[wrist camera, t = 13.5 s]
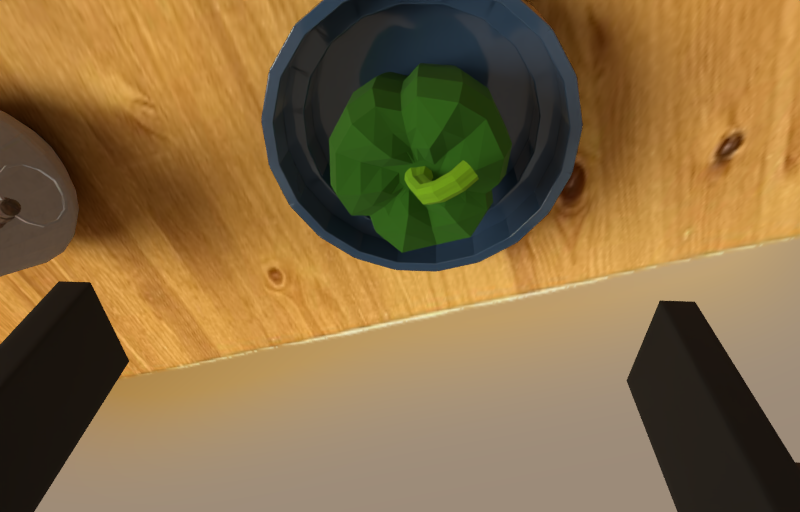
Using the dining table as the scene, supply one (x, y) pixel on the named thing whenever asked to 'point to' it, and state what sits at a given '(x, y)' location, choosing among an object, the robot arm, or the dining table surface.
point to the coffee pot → (32, 199)
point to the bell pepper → (420, 155)
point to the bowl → (401, 53)
